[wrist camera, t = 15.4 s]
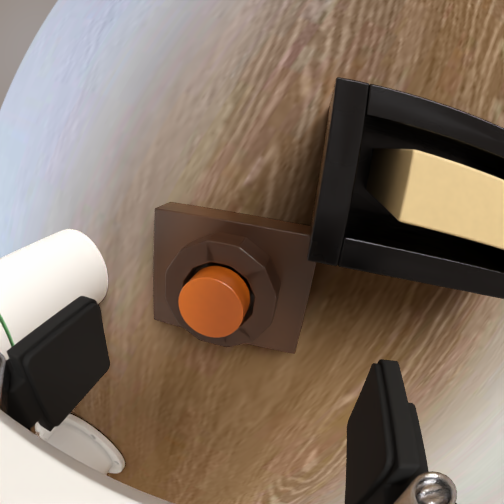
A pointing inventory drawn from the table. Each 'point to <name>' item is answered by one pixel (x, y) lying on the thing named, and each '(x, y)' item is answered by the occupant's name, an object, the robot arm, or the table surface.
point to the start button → (214, 301)
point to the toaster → (374, 213)
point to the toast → (438, 194)
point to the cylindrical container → (47, 282)
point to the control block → (235, 269)
